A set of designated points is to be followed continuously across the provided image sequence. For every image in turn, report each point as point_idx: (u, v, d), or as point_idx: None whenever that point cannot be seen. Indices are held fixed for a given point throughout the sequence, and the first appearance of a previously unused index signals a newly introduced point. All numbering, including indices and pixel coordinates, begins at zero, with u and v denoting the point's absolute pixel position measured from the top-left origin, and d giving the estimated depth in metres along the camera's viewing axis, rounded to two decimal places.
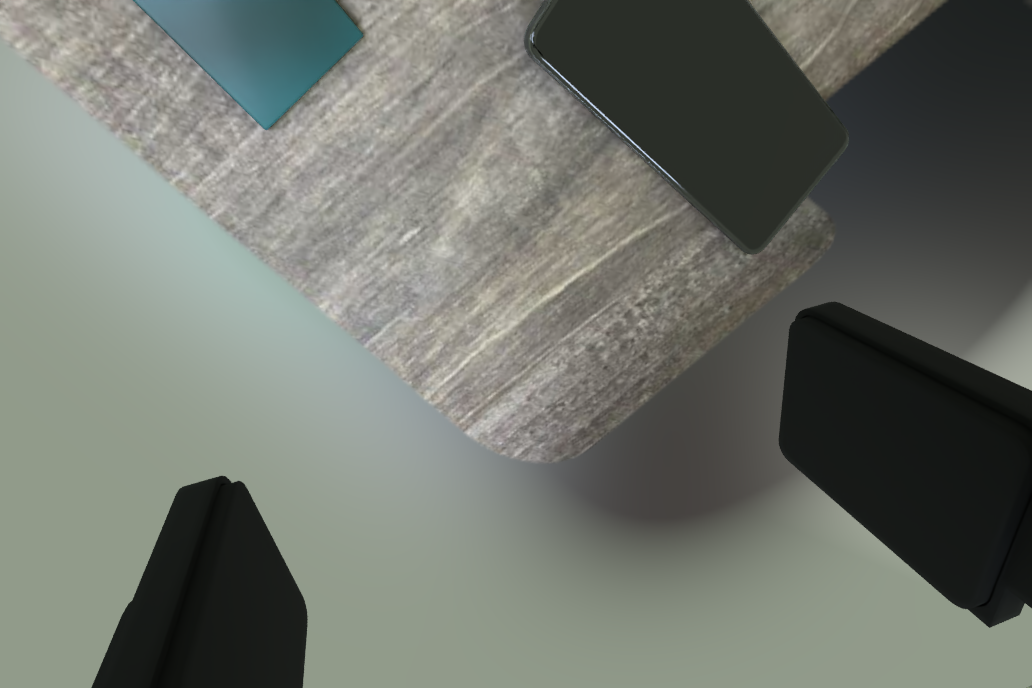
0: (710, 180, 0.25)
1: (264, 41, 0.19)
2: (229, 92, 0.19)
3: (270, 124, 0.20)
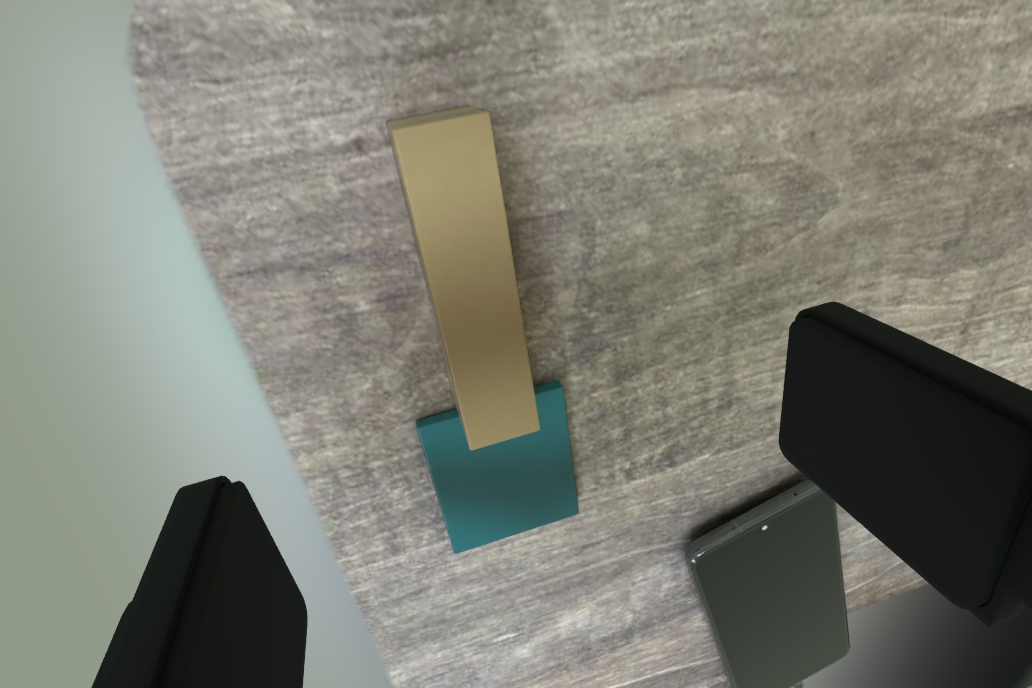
0: (749, 661, 0.29)
1: (503, 499, 0.20)
2: (447, 523, 0.20)
3: (461, 551, 0.20)
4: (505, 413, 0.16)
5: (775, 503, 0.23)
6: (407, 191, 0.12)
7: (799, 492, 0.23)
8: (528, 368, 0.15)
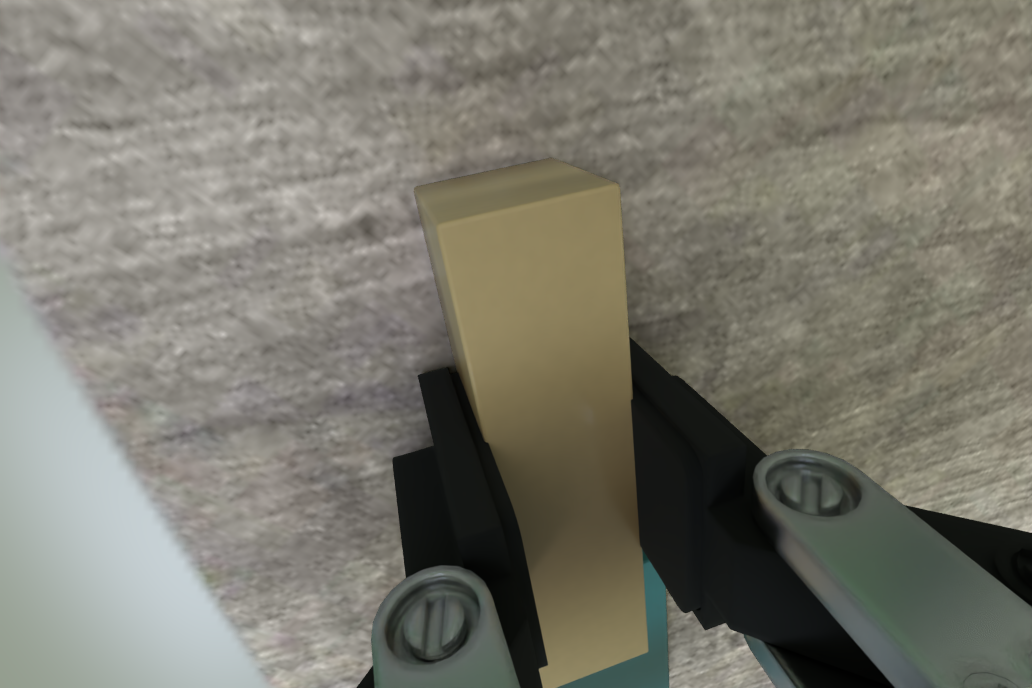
0: None
1: None
2: None
3: None
4: (599, 638, 0.10)
5: None
6: (461, 331, 0.07)
7: None
8: (641, 576, 0.09)
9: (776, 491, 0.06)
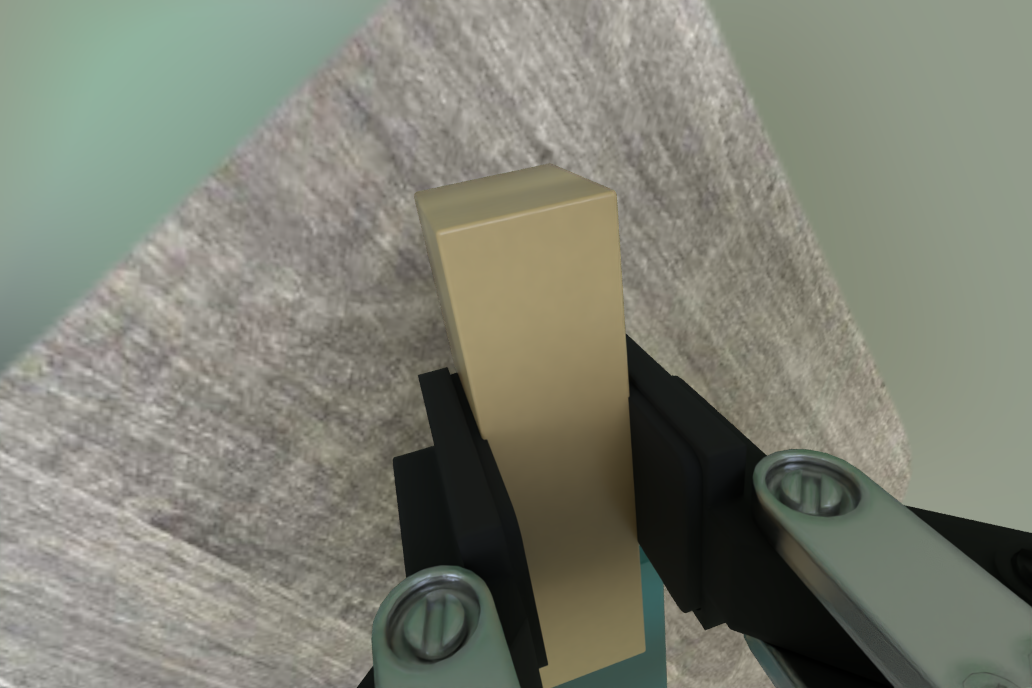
0: None
1: None
2: None
3: None
4: (596, 638, 0.10)
5: None
6: (460, 335, 0.07)
7: None
8: (638, 576, 0.10)
9: (776, 491, 0.06)
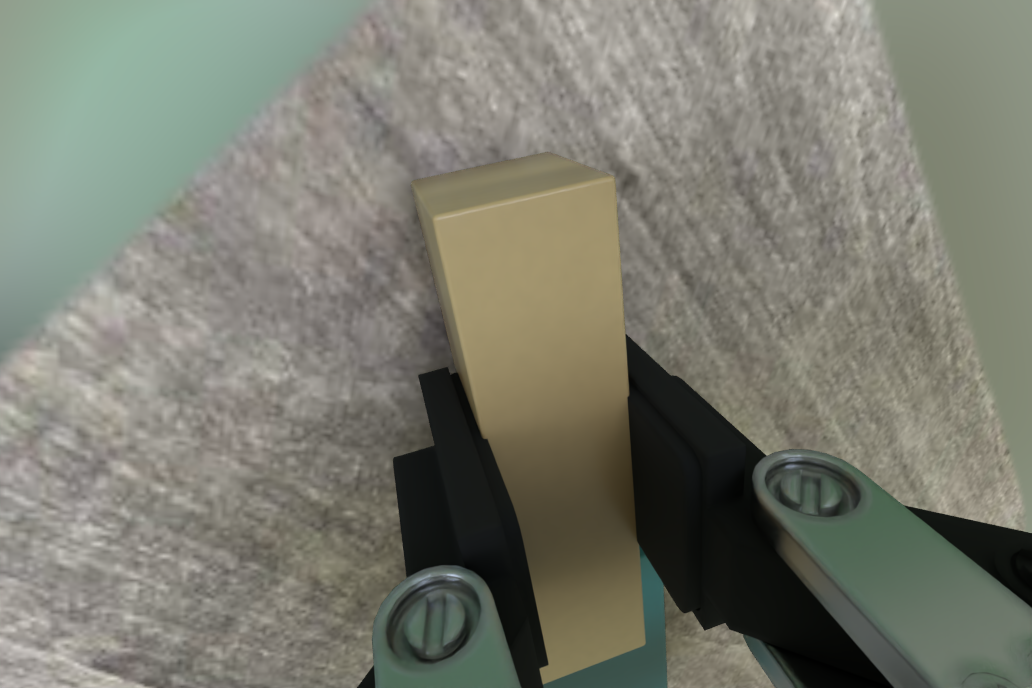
0: None
1: None
2: None
3: None
4: (596, 631, 0.10)
5: None
6: (457, 323, 0.07)
7: None
8: (638, 568, 0.09)
9: (775, 491, 0.06)
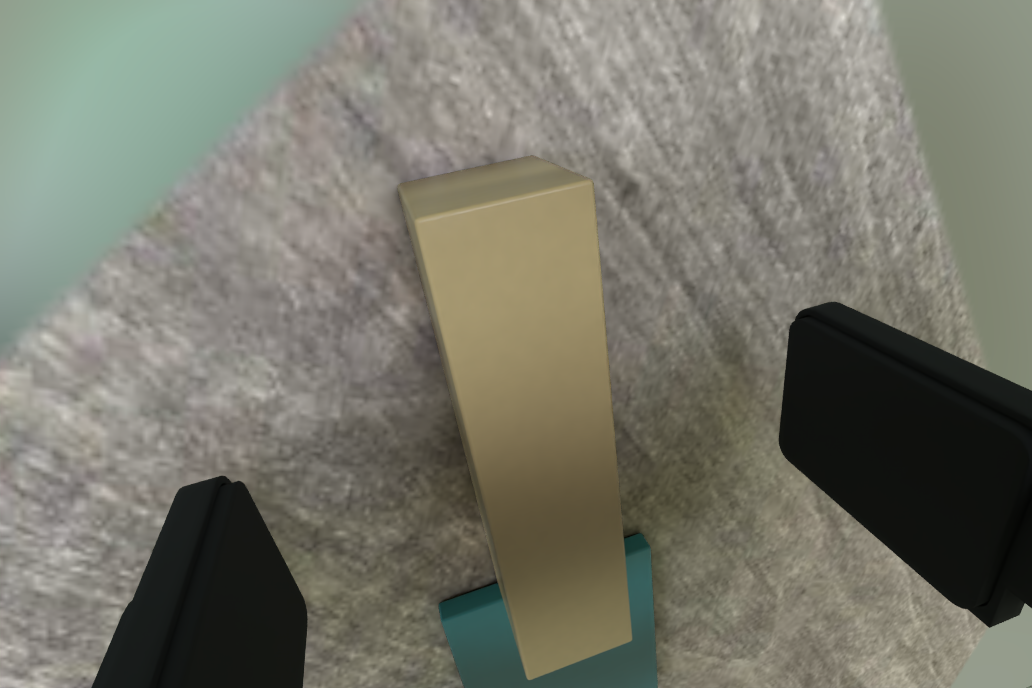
0: None
1: None
2: None
3: None
4: (583, 626, 0.10)
5: None
6: (440, 323, 0.07)
7: None
8: (623, 565, 0.10)
9: None
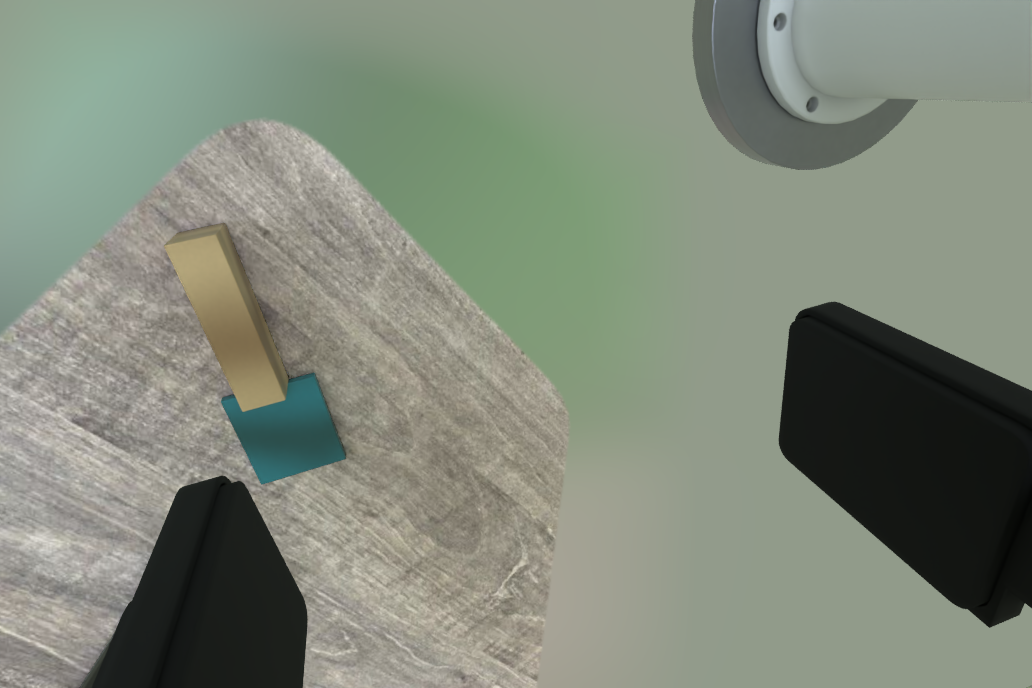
0: None
1: (288, 448, 0.32)
2: (252, 463, 0.32)
3: None
4: (259, 389, 0.28)
5: None
6: (177, 273, 0.25)
7: None
8: (269, 363, 0.27)
9: None
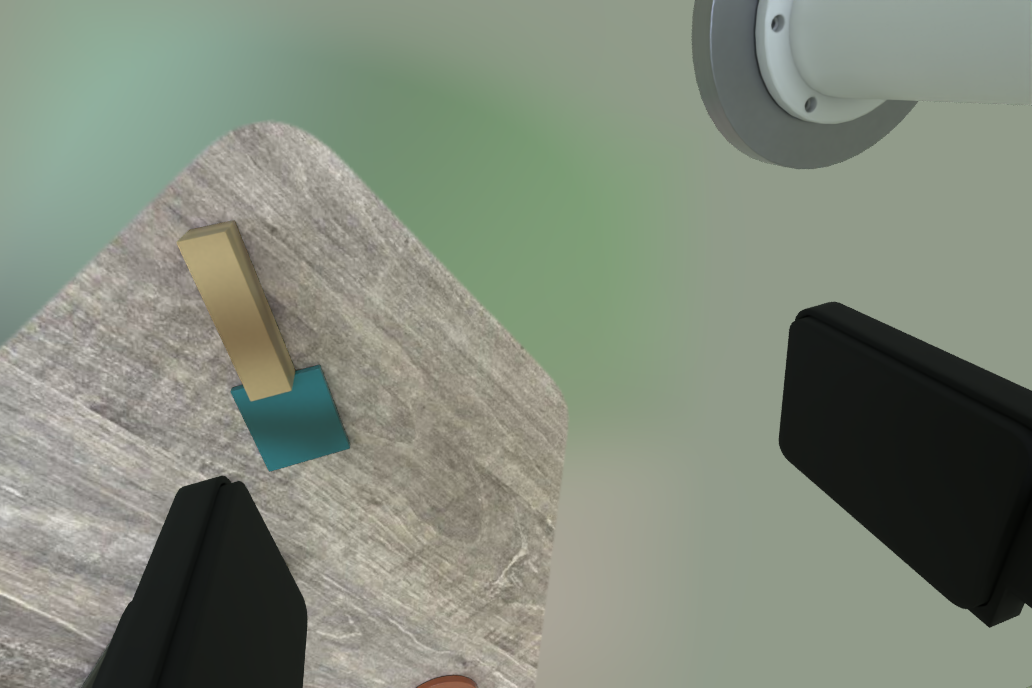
0: None
1: (294, 437, 0.33)
2: (260, 451, 0.33)
3: (273, 470, 0.34)
4: (266, 380, 0.29)
5: None
6: (188, 268, 0.26)
7: None
8: (275, 355, 0.29)
9: None
